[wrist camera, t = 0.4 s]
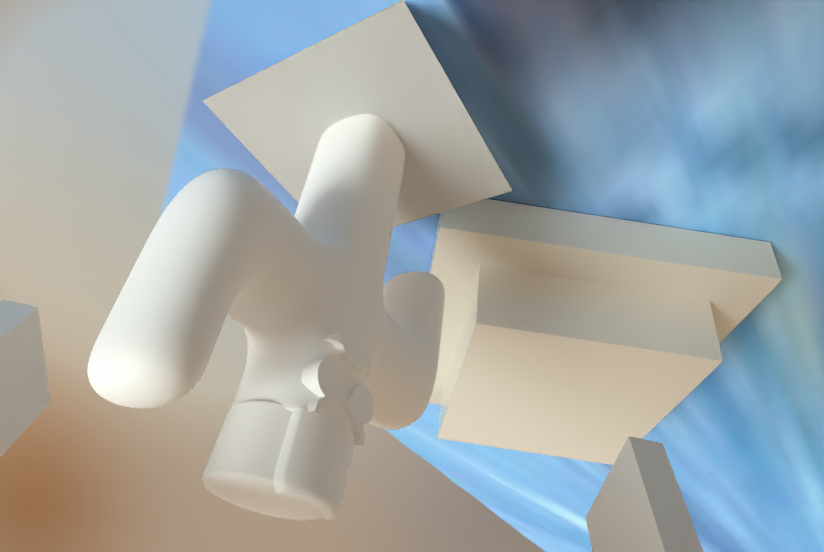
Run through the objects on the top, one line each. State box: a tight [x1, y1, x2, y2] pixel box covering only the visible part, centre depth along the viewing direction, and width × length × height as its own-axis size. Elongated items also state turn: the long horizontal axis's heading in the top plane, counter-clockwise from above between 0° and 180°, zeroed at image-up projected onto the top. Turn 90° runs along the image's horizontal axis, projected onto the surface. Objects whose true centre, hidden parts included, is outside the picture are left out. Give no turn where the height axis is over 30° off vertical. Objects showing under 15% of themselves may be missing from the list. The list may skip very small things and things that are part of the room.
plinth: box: [429, 199, 782, 465], centre depth 30 cm, size 16×14×5 cm
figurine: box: [87, 0, 512, 520], centre depth 17 cm, size 7×9×15 cm
